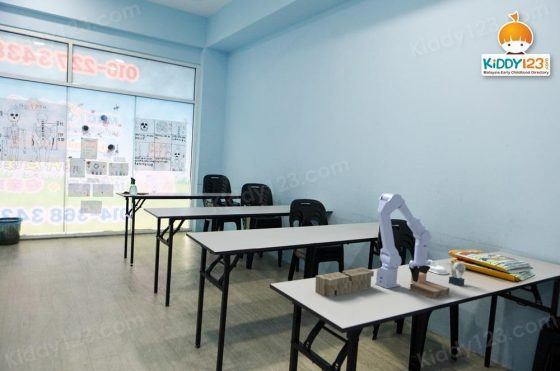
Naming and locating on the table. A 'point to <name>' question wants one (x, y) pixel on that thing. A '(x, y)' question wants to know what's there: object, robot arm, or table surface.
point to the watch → (456, 278)
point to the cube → (419, 278)
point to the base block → (429, 289)
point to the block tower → (343, 282)
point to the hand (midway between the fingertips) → (418, 280)
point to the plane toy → (436, 268)
